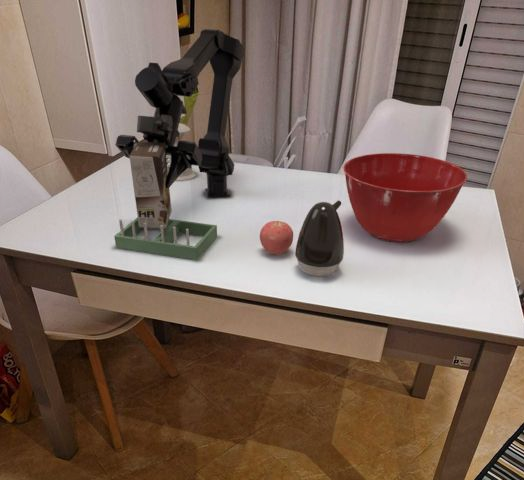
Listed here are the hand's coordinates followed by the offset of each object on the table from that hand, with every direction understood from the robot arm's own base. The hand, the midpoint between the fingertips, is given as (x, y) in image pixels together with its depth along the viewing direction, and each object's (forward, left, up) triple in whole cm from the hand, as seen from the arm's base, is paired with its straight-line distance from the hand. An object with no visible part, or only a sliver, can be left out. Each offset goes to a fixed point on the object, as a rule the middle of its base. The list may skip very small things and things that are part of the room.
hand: (150, 185), depth 110 cm
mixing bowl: (+4, +59, -13) cm, 60 cm away
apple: (+11, +27, -13) cm, 32 cm away
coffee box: (0, 0, -8) cm, 8 cm away
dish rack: (+1, +2, -13) cm, 14 cm away
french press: (-48, +10, -13) cm, 51 cm away
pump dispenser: (+21, +34, -13) cm, 42 cm away
